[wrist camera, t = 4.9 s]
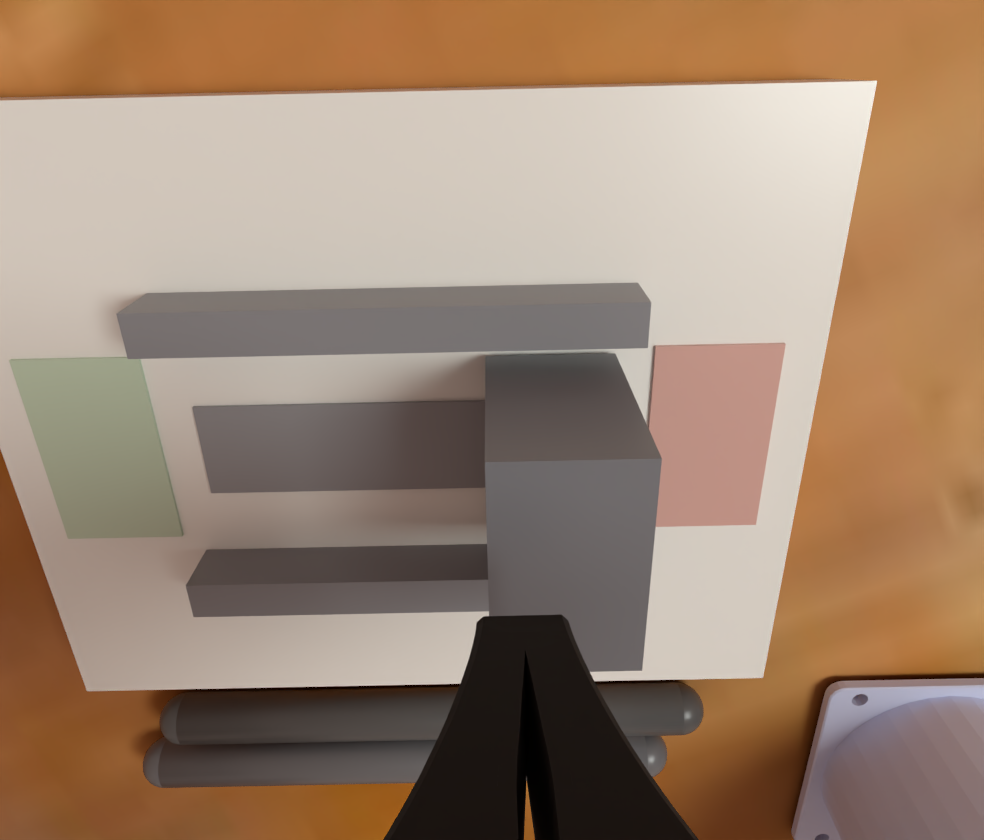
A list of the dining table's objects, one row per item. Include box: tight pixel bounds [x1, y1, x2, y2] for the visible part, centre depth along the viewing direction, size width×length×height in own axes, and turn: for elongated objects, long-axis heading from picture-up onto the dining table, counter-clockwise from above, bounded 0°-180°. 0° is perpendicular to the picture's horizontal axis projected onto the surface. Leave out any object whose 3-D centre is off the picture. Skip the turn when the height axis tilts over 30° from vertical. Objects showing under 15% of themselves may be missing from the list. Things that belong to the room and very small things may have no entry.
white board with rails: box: [0, 79, 877, 788], centre depth 20 cm, size 20×21×4 cm
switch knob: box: [485, 353, 662, 672], centre depth 16 cm, size 3×5×5 cm, turn 1°
